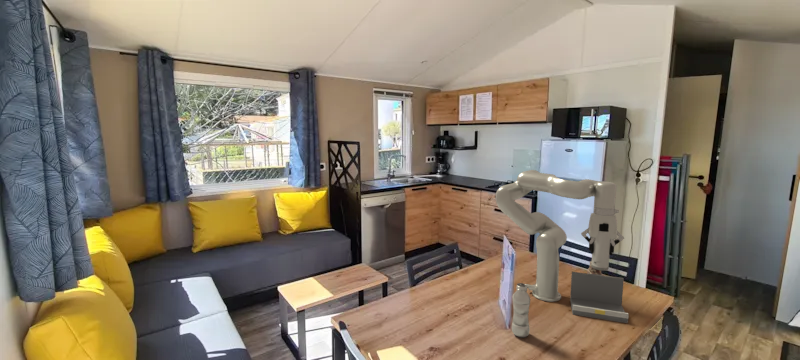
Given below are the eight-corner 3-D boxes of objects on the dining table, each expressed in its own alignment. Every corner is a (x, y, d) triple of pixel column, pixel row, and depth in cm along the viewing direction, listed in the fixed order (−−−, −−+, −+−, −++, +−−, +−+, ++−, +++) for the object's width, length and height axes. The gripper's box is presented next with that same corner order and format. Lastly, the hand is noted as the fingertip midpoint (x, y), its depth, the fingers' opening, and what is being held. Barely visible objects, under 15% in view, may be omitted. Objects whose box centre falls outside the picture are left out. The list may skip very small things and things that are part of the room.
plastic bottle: (520, 341, 128) (522, 290, 125) (507, 332, 134) (508, 283, 131) (533, 336, 131) (535, 286, 128) (519, 328, 137) (521, 280, 134)
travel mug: (594, 270, 144) (597, 223, 141) (589, 264, 150) (592, 219, 147) (611, 271, 142) (614, 224, 140) (605, 265, 149) (608, 220, 146)
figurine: (582, 280, 180) (584, 258, 179) (592, 278, 183) (593, 256, 181) (595, 286, 174) (597, 263, 172) (604, 283, 177) (606, 260, 175)
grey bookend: (572, 314, 147) (574, 283, 145) (570, 300, 159) (571, 271, 157) (627, 323, 139) (630, 290, 137) (620, 308, 151) (623, 277, 150)
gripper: (626, 211, 143) (622, 252, 146) (579, 208, 150) (577, 248, 152) (630, 215, 136) (627, 258, 139) (581, 211, 143) (578, 253, 145)
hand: (600, 252), depth 145 cm, fingers closed on travel mug, 6 cm apart
